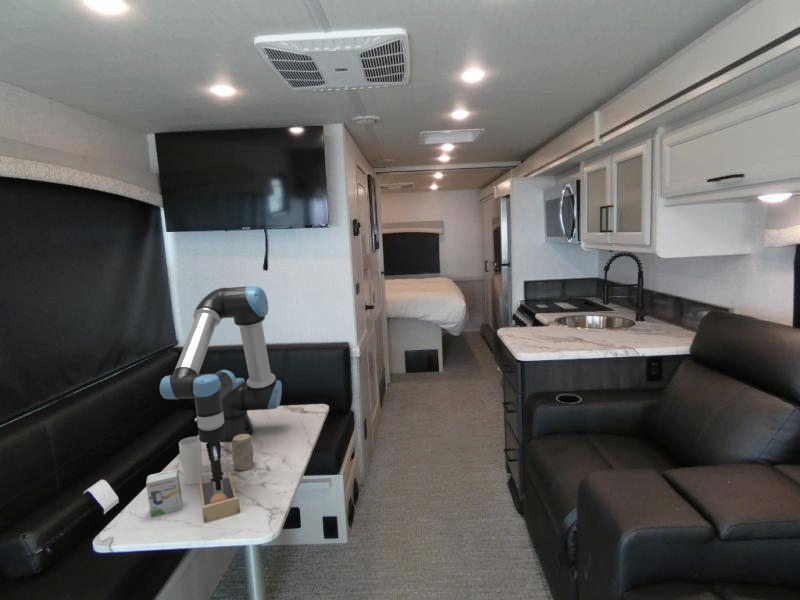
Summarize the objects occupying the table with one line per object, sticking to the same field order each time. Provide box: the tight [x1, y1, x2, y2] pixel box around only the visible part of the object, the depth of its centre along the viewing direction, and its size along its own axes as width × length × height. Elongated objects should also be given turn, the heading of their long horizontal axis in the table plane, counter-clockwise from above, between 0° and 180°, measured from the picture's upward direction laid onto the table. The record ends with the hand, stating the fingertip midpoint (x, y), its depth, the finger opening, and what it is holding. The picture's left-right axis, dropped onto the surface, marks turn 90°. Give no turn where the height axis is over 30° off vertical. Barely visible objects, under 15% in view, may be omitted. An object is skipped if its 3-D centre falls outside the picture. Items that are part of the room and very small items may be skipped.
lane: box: [198, 471, 241, 523], centre depth 148 cm, size 24×10×5 cm, turn 26°
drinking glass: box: [178, 436, 204, 486], centre depth 159 cm, size 7×7×15 cm
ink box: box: [145, 469, 183, 518], centre depth 142 cm, size 9×5×12 cm, turn 114°
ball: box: [210, 493, 228, 504], centre depth 141 cm, size 5×5×5 cm
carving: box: [231, 434, 255, 471], centre depth 167 cm, size 6×8×12 cm
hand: (219, 497), depth 147 cm, fingers closed
